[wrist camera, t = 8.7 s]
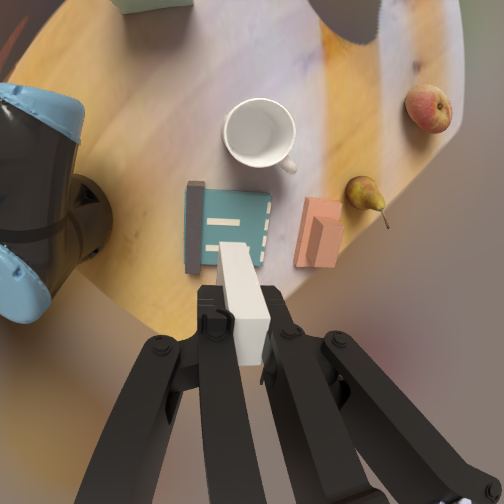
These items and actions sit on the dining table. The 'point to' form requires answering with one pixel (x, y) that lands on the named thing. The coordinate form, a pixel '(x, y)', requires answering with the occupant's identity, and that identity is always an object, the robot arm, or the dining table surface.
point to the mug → (260, 134)
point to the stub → (319, 233)
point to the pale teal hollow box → (147, 5)
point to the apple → (429, 108)
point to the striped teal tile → (233, 222)
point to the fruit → (365, 195)
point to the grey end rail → (193, 226)
